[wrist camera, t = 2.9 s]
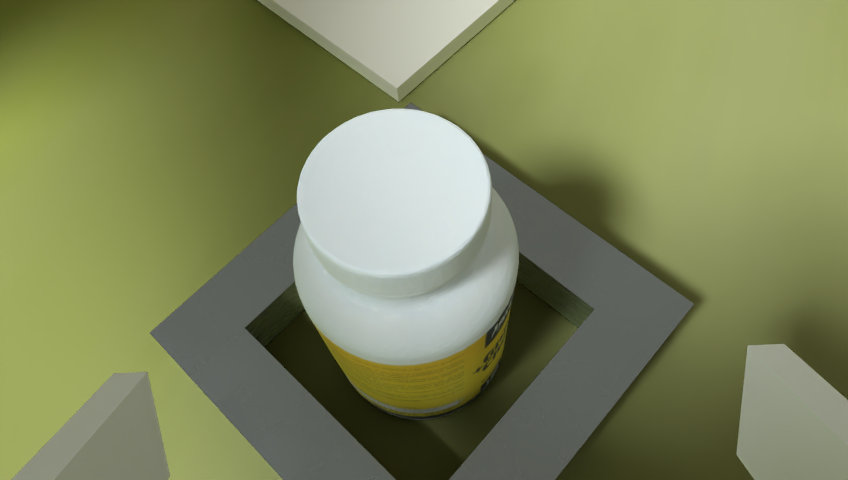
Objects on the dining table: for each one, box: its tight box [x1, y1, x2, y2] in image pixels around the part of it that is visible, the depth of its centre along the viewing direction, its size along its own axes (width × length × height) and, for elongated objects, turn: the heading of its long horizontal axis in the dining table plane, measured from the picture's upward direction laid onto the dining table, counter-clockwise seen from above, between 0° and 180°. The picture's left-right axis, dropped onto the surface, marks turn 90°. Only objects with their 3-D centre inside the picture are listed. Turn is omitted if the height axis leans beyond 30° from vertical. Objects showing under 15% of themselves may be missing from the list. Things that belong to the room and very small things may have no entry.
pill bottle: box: [293, 109, 519, 420], centre depth 20 cm, size 6×6×12 cm
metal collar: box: [150, 103, 694, 480], centre depth 24 cm, size 14×14×2 cm
